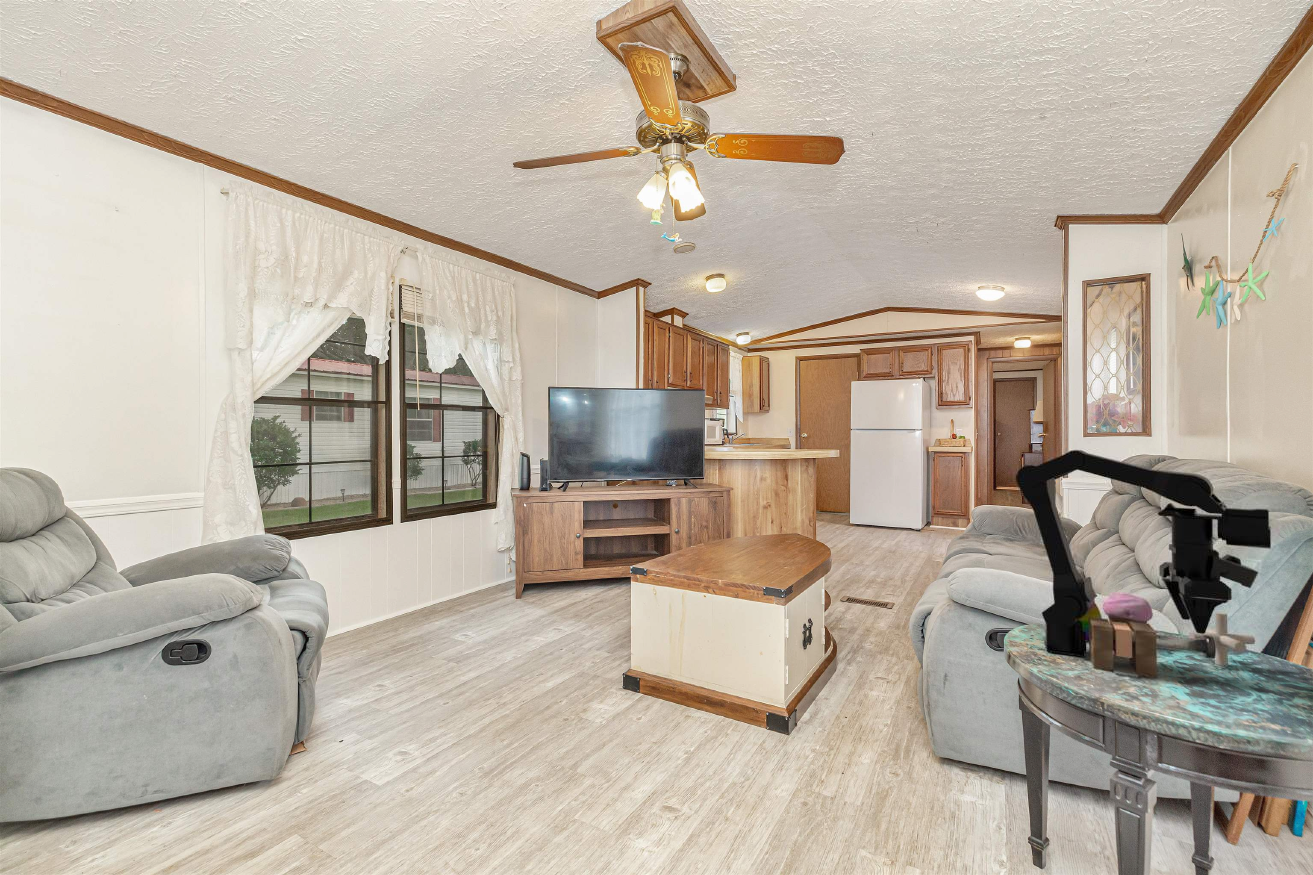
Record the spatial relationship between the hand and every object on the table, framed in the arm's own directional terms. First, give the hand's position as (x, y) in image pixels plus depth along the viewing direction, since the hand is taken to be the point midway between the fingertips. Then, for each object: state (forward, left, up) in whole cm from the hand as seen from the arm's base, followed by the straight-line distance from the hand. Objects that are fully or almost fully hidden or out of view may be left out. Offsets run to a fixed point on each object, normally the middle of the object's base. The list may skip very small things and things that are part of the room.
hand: (1192, 626), depth 110 cm
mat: (-11, 0, -10) cm, 14 cm away
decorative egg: (-15, +18, -10) cm, 26 cm away
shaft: (-6, 0, -6) cm, 8 cm away
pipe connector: (+7, +11, -10) cm, 16 cm away
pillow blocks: (-11, 0, -10) cm, 14 cm away
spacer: (-11, 0, -7) cm, 13 cm away
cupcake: (-6, +21, -10) cm, 24 cm away
